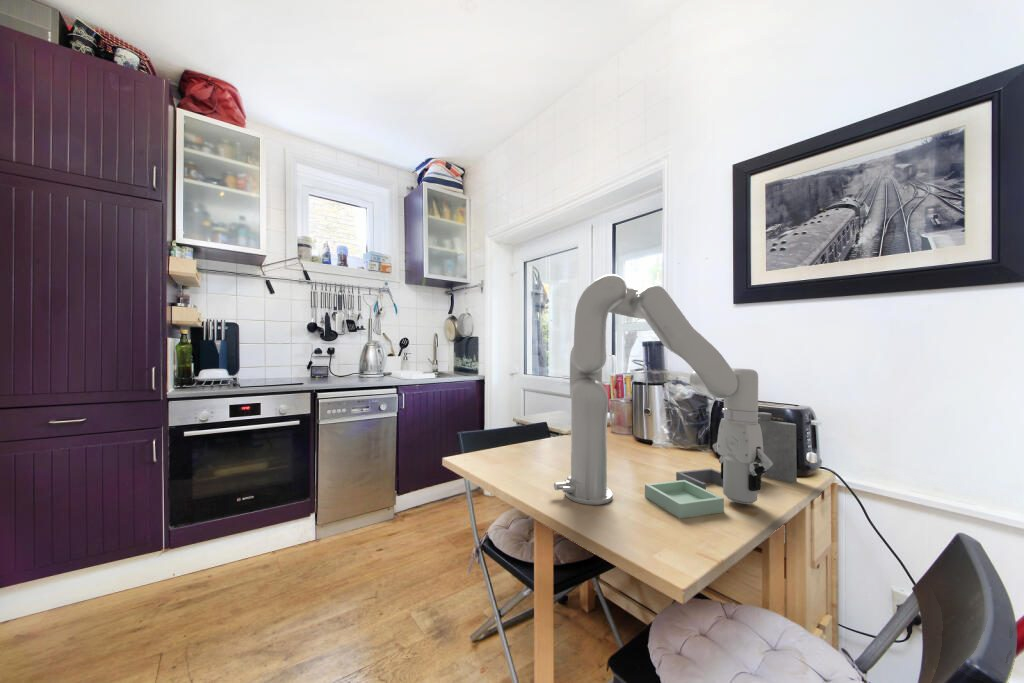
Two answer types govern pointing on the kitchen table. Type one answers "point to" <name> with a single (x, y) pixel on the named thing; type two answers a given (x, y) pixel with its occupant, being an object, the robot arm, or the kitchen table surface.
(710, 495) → the tray
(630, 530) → the kitchen table surface
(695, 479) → the bay
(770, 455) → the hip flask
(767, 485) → the kitchen table surface
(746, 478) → the can
